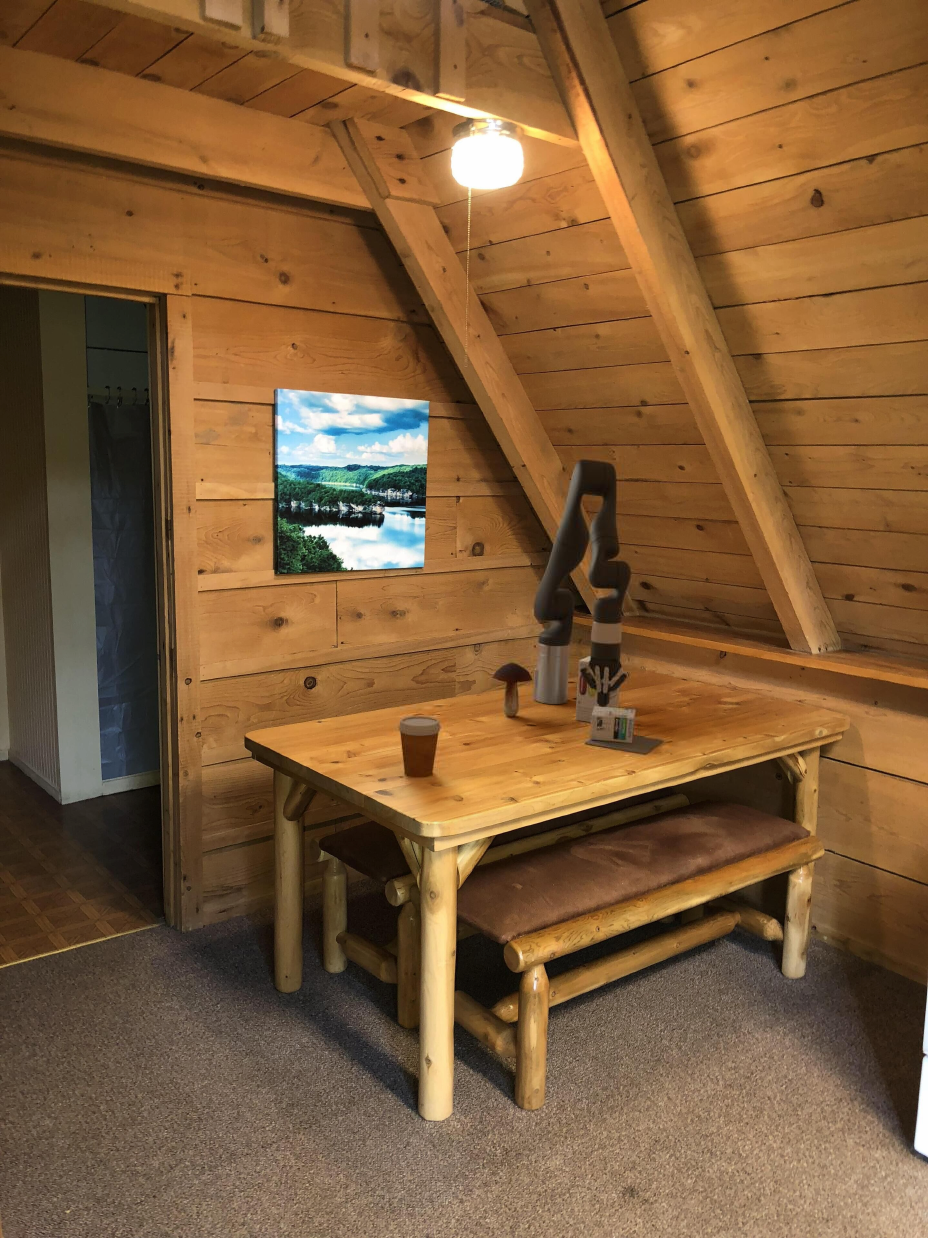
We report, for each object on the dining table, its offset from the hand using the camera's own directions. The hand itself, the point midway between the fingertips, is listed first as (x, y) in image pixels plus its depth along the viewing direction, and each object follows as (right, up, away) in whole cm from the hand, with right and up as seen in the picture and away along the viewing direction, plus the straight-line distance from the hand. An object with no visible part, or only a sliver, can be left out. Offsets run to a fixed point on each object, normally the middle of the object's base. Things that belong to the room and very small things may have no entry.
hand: (602, 706), depth 253 cm
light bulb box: (-3, -4, +3) cm, 6 cm away
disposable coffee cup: (-46, -13, -30) cm, 56 cm away
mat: (+5, -9, -1) cm, 11 cm away
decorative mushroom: (-22, -5, +21) cm, 31 cm away
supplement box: (+1, -6, +21) cm, 22 cm away
